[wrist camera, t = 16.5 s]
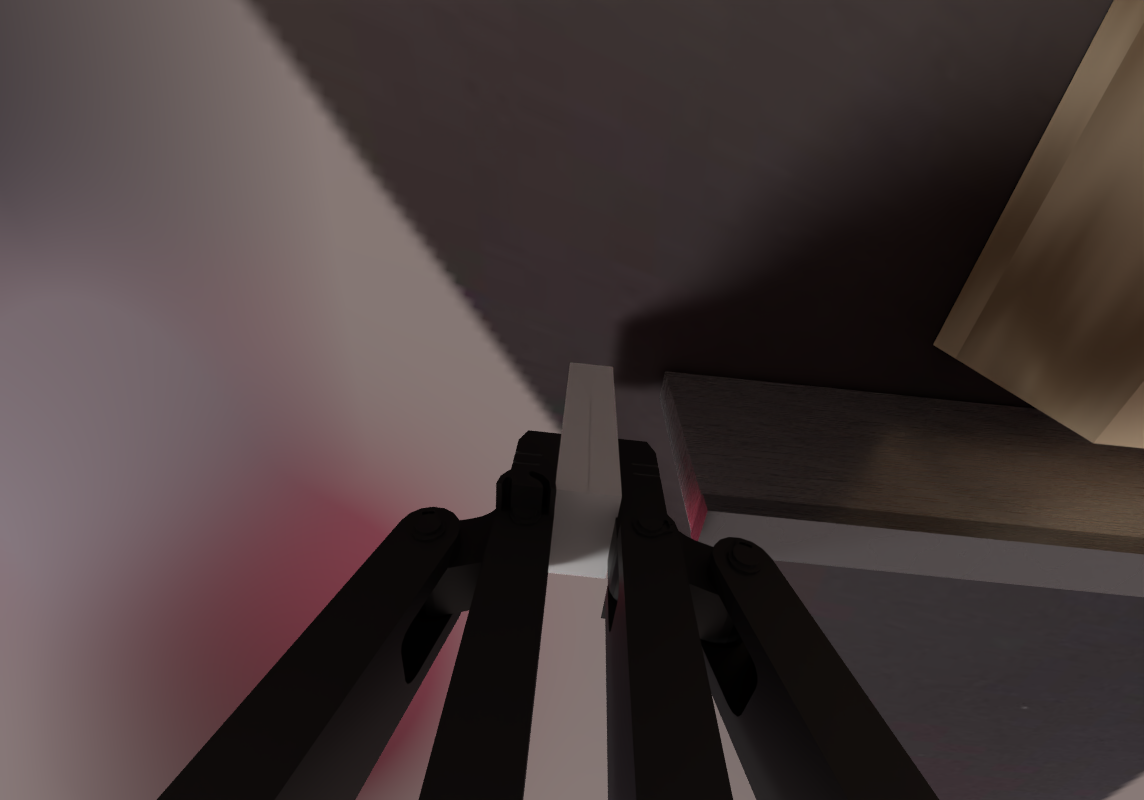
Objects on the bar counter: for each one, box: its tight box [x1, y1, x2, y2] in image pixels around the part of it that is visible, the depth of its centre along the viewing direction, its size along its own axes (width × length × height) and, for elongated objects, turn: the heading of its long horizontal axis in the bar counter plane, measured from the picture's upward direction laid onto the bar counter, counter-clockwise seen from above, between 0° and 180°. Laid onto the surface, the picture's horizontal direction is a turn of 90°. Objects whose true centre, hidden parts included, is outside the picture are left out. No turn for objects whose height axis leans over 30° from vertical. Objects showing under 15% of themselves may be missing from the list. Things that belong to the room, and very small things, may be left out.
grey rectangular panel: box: [659, 371, 1144, 597], centre depth 14 cm, size 1×16×8 cm, turn 85°
